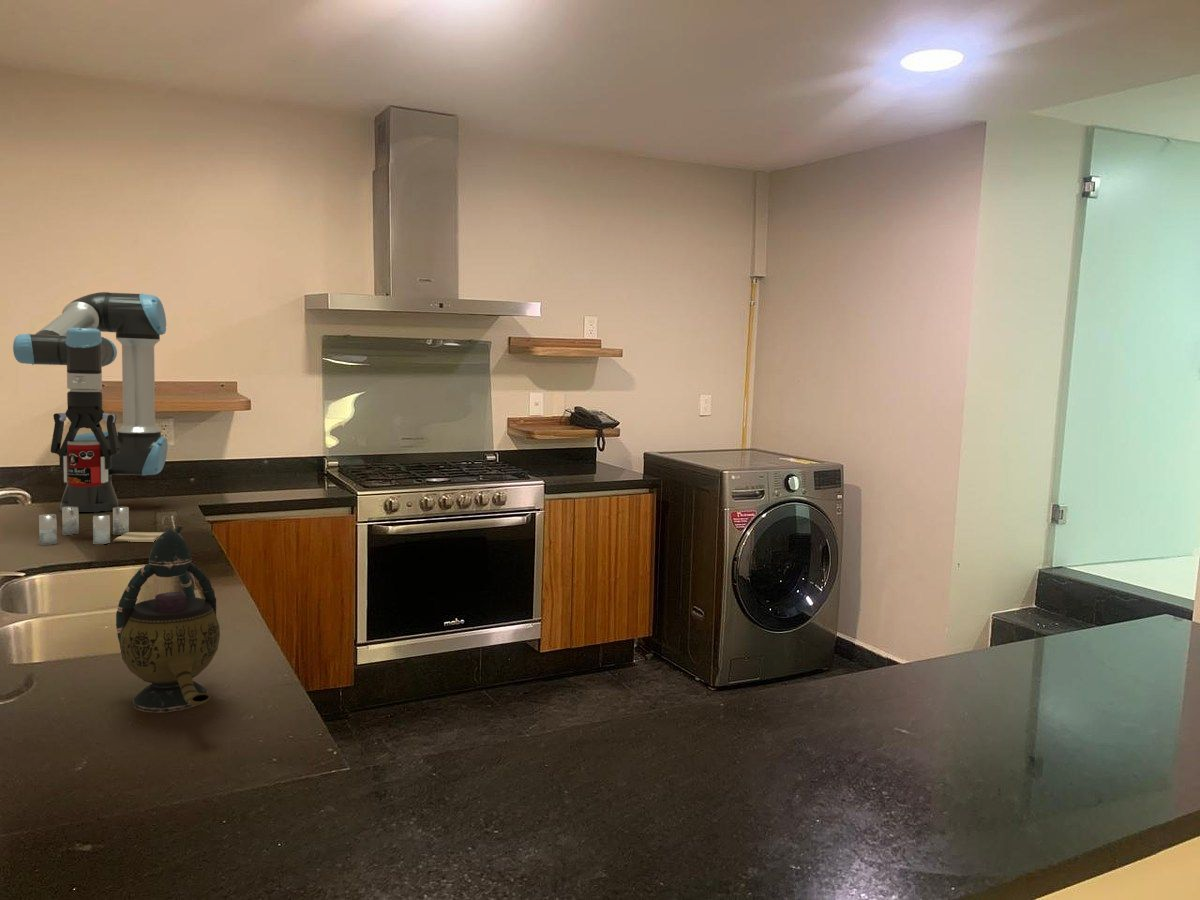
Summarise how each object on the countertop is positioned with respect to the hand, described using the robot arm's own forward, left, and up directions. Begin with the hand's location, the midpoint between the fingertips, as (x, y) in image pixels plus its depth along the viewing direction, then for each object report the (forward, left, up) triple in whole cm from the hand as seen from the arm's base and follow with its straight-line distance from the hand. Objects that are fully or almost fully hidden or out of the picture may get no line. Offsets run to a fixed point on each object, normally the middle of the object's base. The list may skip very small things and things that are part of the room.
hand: (86, 481), depth 223 cm
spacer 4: (-6, +6, -14) cm, 17 cm away
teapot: (+119, +55, -15) cm, 132 cm away
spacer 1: (+7, -6, -14) cm, 17 cm away
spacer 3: (+7, +6, -14) cm, 17 cm away
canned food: (0, 0, -1) cm, 1 cm away
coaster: (0, +13, -14) cm, 19 cm away
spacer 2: (-6, -6, -14) cm, 17 cm away
